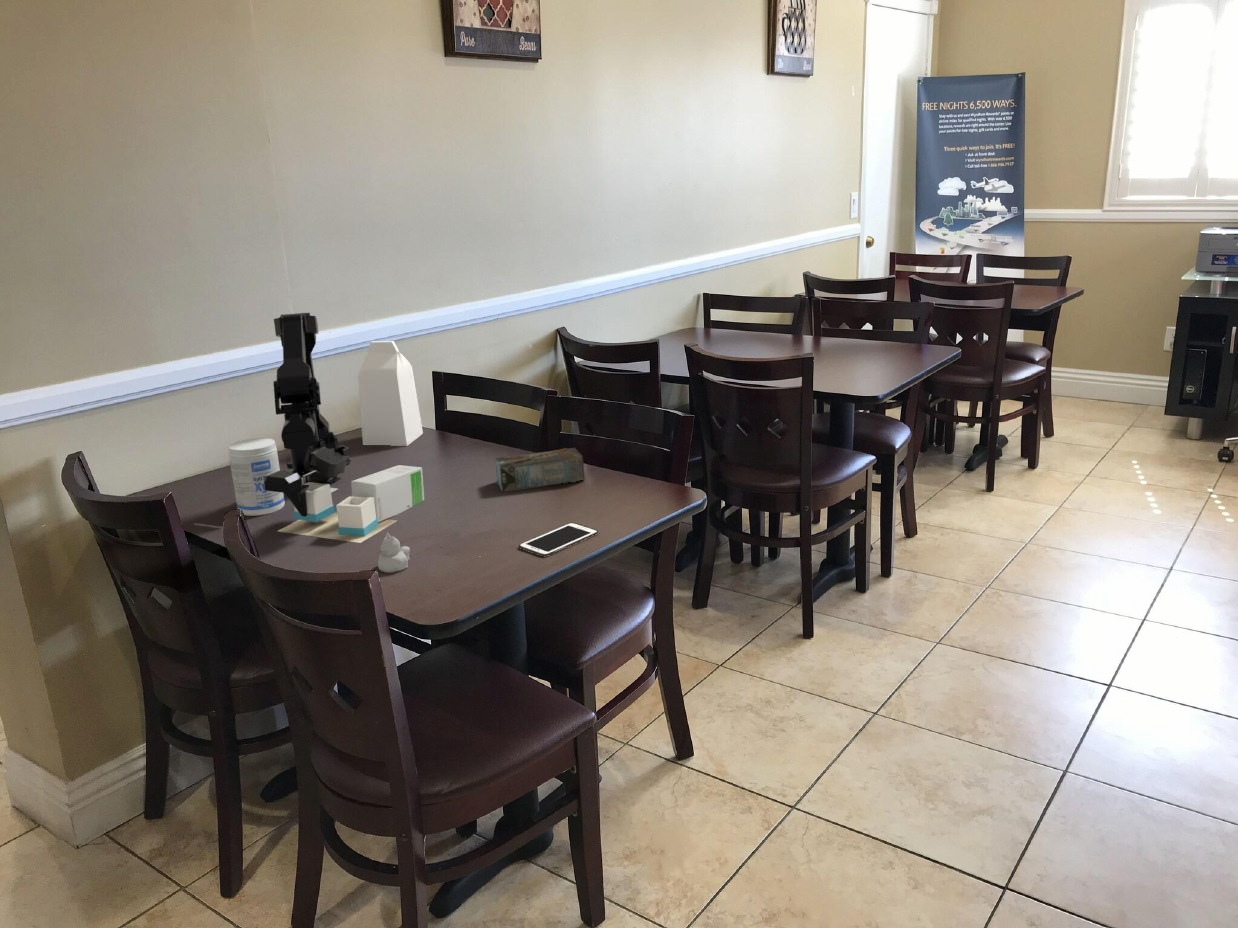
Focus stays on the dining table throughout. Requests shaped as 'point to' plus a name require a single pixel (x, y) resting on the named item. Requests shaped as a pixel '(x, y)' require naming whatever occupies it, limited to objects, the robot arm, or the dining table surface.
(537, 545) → the cell phone
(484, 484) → the dining table surface
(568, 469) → the beverage carton
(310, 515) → the sleeve
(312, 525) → the pin board
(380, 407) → the milk
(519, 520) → the dining table surface
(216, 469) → the dining table surface
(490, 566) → the dining table surface
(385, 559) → the white figurine
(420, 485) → the skincare box
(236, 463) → the supplement tub
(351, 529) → the sleeve
